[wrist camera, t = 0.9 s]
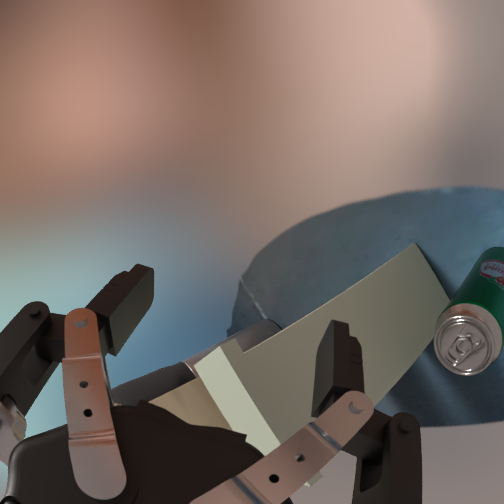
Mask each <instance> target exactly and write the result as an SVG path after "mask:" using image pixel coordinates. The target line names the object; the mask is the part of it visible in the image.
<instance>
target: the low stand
mask: <svg viewBox="0 0 504 504" xmlns="http://www.w3.org/2000/svg"><path fill="white" fill-rule="evenodd" d="M449 302H450V300H449V298H448V296H447V294H446V293H445V291H444V289H443V287H442V286H441V284H440V282H439V280H438V279H437V277H436V275H435V274H434V272H433V270H432V269H431V267H430V265H429V264H428V262H427V261H426V259H425V257H424V256H423V254H422V253H421V251H420V249H419V248H418V246H417V245H416V243H415V242H414V243H413V244H411V245H410V246H409V247H407V248H406V249H405V250H403V251H402V252H400V253H399V254H398V255H396V256H395V257H394V258H392V259H391V260H389V261H388V262H386V263H385V264H384V265H382V266H381V267H379V268H378V269H376V270H375V271H374V272H372V273H371V274H369V275H368V276H366V277H365V278H363V279H362V280H361V281H359V282H358V283H356V284H355V285H353V286H352V287H350V288H349V289H347V290H346V291H344V292H343V293H341V294H340V295H338V296H337V297H335V298H334V299H332V300H331V301H329V302H327V303H326V304H324V305H323V306H321V307H320V308H318V309H317V310H315V311H313V312H312V313H310V314H309V315H307V316H305V317H304V318H302V319H301V320H299V321H297V322H296V323H294V324H292V325H291V326H289V327H288V328H286V329H284V330H283V331H281V332H279V333H278V334H276V335H274V336H272V337H271V338H269V339H267V340H266V341H264V342H262V343H260V344H259V345H257V346H255V347H254V348H252V349H250V350H248V351H246V352H245V353H243V351H242V349H241V348H240V346H239V344H238V342H237V341H236V339H235V338H234V339H232V340H230V341H228V342H226V343H224V344H222V345H220V346H219V347H217V348H216V349H215V350H214V351H212V352H211V353H210V354H208V355H207V356H206V357H204V358H203V359H202V360H200V361H199V362H198V363H196V364H195V365H194V367H195V369H196V371H197V372H198V374H199V376H200V378H201V379H202V381H203V383H204V384H205V386H206V388H207V390H208V391H209V393H210V395H211V396H212V398H213V400H214V401H215V403H216V404H217V406H218V408H219V409H220V411H221V412H222V414H223V416H224V417H225V419H226V420H227V422H228V423H229V425H230V427H231V428H232V430H233V431H235V432H239V433H243V434H247V437H246V442H248V443H249V444H251V445H253V446H254V447H256V448H257V449H258V450H259V451H261V453H262V454H263V455H264V456H266V455H268V454H269V453H270V452H272V451H273V450H274V449H276V448H277V447H278V446H280V445H281V444H282V443H284V442H285V441H286V440H288V439H289V438H290V437H291V436H293V435H294V434H295V433H296V432H298V431H299V430H300V429H301V428H303V427H304V426H305V425H306V424H308V423H309V422H313V421H315V420H316V419H317V418H314V417H311V411H312V400H313V389H314V378H315V365H316V354H317V349H318V346H319V344H320V341H321V339H322V337H323V335H324V333H325V331H326V329H327V327H328V325H329V323H330V321H331V320H332V319H333V320H337V321H341V322H345V323H348V324H349V333H350V336H353V337H357V339H358V341H359V343H360V345H361V347H362V358H363V365H362V366H363V372H364V389H365V395H367V396H368V397H369V398H370V399H371V401H372V403H373V406H375V405H376V404H377V403H378V402H379V401H380V400H381V399H382V398H383V397H384V396H385V395H386V394H387V393H388V392H389V391H390V389H391V388H392V387H393V386H394V385H395V384H396V383H397V382H398V381H399V379H400V378H401V377H402V376H403V375H404V374H405V372H406V371H407V370H408V369H409V368H410V367H411V365H412V364H413V363H414V362H415V361H416V359H417V358H418V357H419V356H420V354H421V353H422V352H423V351H424V349H425V348H426V347H427V346H428V344H429V343H430V342H431V340H432V339H433V338H434V335H435V326H436V322H437V320H438V317H439V316H440V314H441V313H442V311H443V310H444V309H445V307H446V306H447V305H448V303H449ZM322 477H323V476H322V474H321V473H320V471H318V472H317V473H316V474H315V475H314V476H313V477H312V478H311V479H309V480H308V481H307V482H306V483H305V484H304V485H307V486H310V487H311V486H312V485H313V484H314V483H315V482H317V481H318V480H319V479H321V478H322Z"/></svg>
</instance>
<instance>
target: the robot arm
mask: <svg viewBox="0 0 504 504" xmlns="http://www.w3.org/2000/svg"><path fill="white" fill-rule="evenodd" d="M153 298H154V270H153V268H150V267H147V266H144V265H141V264H136V265H135V266H134V267H133V268H132V269H131V270H130V271H129V272H127V271H123V272H121V273H119V274H117V275H115V276H114V277H113V278H112V279H111V280H110V281H109V283H108V284H106V285H105V287H104V288H103V289H102V290H101V291H100V292H99V293H98V294H97V295H96V296H95V297H94V298H93V299H92V300H91V301H90V303H89V304H88V305H87V306H86V307H85V308H77V309H74V310H72V311H71V312H69V313H68V314H67V315H61V314H55V313H50V311H49V308H48V306H47V305H46V304H45V303H43V302H40V301H39V302H38V301H35V302H31V303H29V304H27V305H25V306H24V307H23V308H22V309H21V310H20V312H19V313H18V314H17V315H16V316H15V317H14V318H13V319H12V320H11V321H10V323H9V324H8V325H7V326H6V327H5V328H4V330H3V331H2V332H1V333H0V461H2V462H3V463H4V464H5V465H7V466H8V482H7V489H6V493H5V495H4V498H3V499H2V501H1V502H0V504H293V502H292V501H291V499H290V497H289V496H291V495H292V494H293V493H294V492H296V491H297V490H298V489H299V488H300V487H301V486H303V485H304V484H305V483H306V482H307V481H308V480H309V479H311V478H312V477H313V476H314V475H315V474H316V473H317V472H318V471H319V470H320V469H322V468H323V467H324V466H325V465H326V464H327V463H328V462H329V461H330V460H331V459H332V458H333V457H334V456H335V455H336V454H337V453H338V452H339V451H340V450H343V451H345V452H347V453H349V454H351V455H354V456H356V457H357V464H356V474H355V482H354V490H353V499H352V504H422V454H421V434H420V426H419V423H418V421H417V420H416V418H415V417H413V416H412V415H411V414H408V413H405V412H400V413H397V414H395V415H394V416H393V417H390V416H388V415H386V414H384V413H382V412H380V411H378V410H376V409H374V406H373V403H372V401H371V399H370V398H369V397H368V396H367V395H365V389H364V372H363V366H362V365H363V358H362V347H361V345H360V343H359V341H358V339H357V337H353V336H350V333H349V324H348V323H345V322H341V321H337V320H333V319H332V320H331V321H330V323H329V325H328V327H327V329H326V331H325V333H324V335H323V337H322V339H321V341H320V344H319V346H318V349H317V354H316V365H315V378H314V389H313V400H312V411H311V417H314V418H317V419H316V420H315V421H313V422H309V423H308V424H306V425H305V426H304V427H303V428H301V429H300V430H299V431H298V432H296V433H295V434H294V435H293V436H291V437H290V438H289V439H288V440H286V441H285V442H284V443H282V444H281V445H280V446H278V447H277V448H276V449H274V450H273V451H272V452H270V453H269V454H268V455H266V456H264V455H263V454H262V453H261V451H259V450H258V449H257V448H256V447H254V446H253V445H251V444H249V443H248V442H246V437H247V434H243V433H239V432H235V431H232V430H228V429H225V428H221V427H212V426H200V425H192V424H189V423H187V422H185V421H184V420H182V419H180V418H179V417H177V416H176V415H174V414H173V413H171V412H169V411H168V410H166V409H165V408H162V407H159V406H157V405H154V404H152V403H149V401H151V400H153V399H155V398H158V397H160V396H162V395H164V394H166V393H168V392H170V391H172V390H174V389H176V388H178V387H180V386H182V385H184V384H186V383H188V382H190V381H192V380H194V379H196V378H198V377H200V376H199V374H198V372H197V371H196V369H195V367H194V365H195V364H196V363H198V362H199V361H200V360H202V359H203V358H204V357H206V356H207V355H208V354H210V353H211V352H212V351H214V350H215V349H216V348H217V347H219V346H220V345H222V344H224V343H226V342H228V341H230V340H232V339H234V338H235V339H236V341H237V342H238V344H239V346H240V348H241V349H242V351H243V353H244V352H246V351H248V350H249V349H251V348H253V347H255V346H256V345H258V344H260V343H262V342H263V341H265V340H267V339H268V338H270V337H272V336H274V335H275V334H277V333H279V332H280V331H282V330H281V329H280V328H279V326H277V325H276V324H275V323H274V322H272V321H271V320H268V319H263V320H261V321H259V322H257V323H255V324H253V325H251V326H250V327H248V328H246V329H244V330H242V331H240V332H238V333H236V334H234V335H232V336H231V337H229V338H227V339H225V340H223V341H221V342H219V343H217V344H216V345H213V346H211V347H209V348H207V349H206V350H203V351H201V352H199V353H197V354H195V355H193V356H191V357H189V358H188V359H185V360H183V361H181V362H179V363H177V364H175V365H172V366H168V367H165V368H161V369H159V370H156V371H154V372H152V373H149V374H147V375H144V376H142V377H139V378H136V379H134V380H131V381H129V382H126V383H123V384H121V385H119V386H117V387H115V388H113V389H111V388H110V382H109V377H108V371H107V365H106V360H105V356H106V354H107V353H109V354H111V355H114V356H116V355H117V354H118V353H119V351H120V350H121V348H122V347H123V345H124V344H125V342H126V341H127V339H128V338H129V337H130V335H131V334H132V332H133V331H134V329H135V328H136V326H137V325H138V324H139V322H140V321H141V319H142V318H143V317H144V315H145V314H146V312H147V311H148V310H149V308H150V306H151V304H152V302H153ZM60 362H61V363H62V371H63V386H64V398H65V408H66V416H67V424H65V425H63V426H60V427H57V428H54V429H51V430H49V431H46V432H43V433H40V434H37V435H34V436H31V437H28V438H26V439H24V437H25V431H26V425H27V424H26V419H25V415H26V414H27V412H28V410H29V409H30V407H31V406H32V404H33V403H34V401H35V399H36V398H37V396H38V395H39V393H40V392H41V390H42V389H43V387H44V385H45V384H46V382H47V380H48V379H49V378H50V376H51V375H52V373H53V372H54V370H55V369H56V367H57V366H58V365H59V363H60ZM115 403H117V404H121V405H117V406H115V405H114V404H115Z"/></svg>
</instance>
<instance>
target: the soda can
mask: <svg viewBox="0 0 504 504" xmlns="http://www.w3.org/2000/svg"><path fill="white" fill-rule="evenodd" d="M433 343H434V350H435V353H436V356H437V358H438V359H439V361H440V362H441V363H442V365H443V366H444V367H446V368H447V369H448V370H450V371H451V372H453V373H455V374H459V375H464V376H470V375H475V374H478V373H480V372H482V371H483V370H484V369H486V368H487V367H488V366H489V365H491V364H492V363H493V362H494V361H495V360H496V359H497V358H498V356H499V355H500V353H501V350H502V348H503V345H504V247H492V248H490V249H488V250H486V251H484V252H483V253H482V254H481V256H480V257H479V258H478V260H477V262H476V263H475V265H474V266H473V268H472V270H471V271H470V273H469V274H468V276H467V277H466V279H465V280H464V282H463V283H462V285H461V286H460V288H459V289H458V291H457V292H456V293H455V295H454V296H453V298H452V299H451V301H450V302H449V303H448V305H447V306H446V307H445V309H444V310H443V311H442V313H441V314H440V316H439V317H438V320H437V322H436V326H435V335H434V341H433Z"/></svg>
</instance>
